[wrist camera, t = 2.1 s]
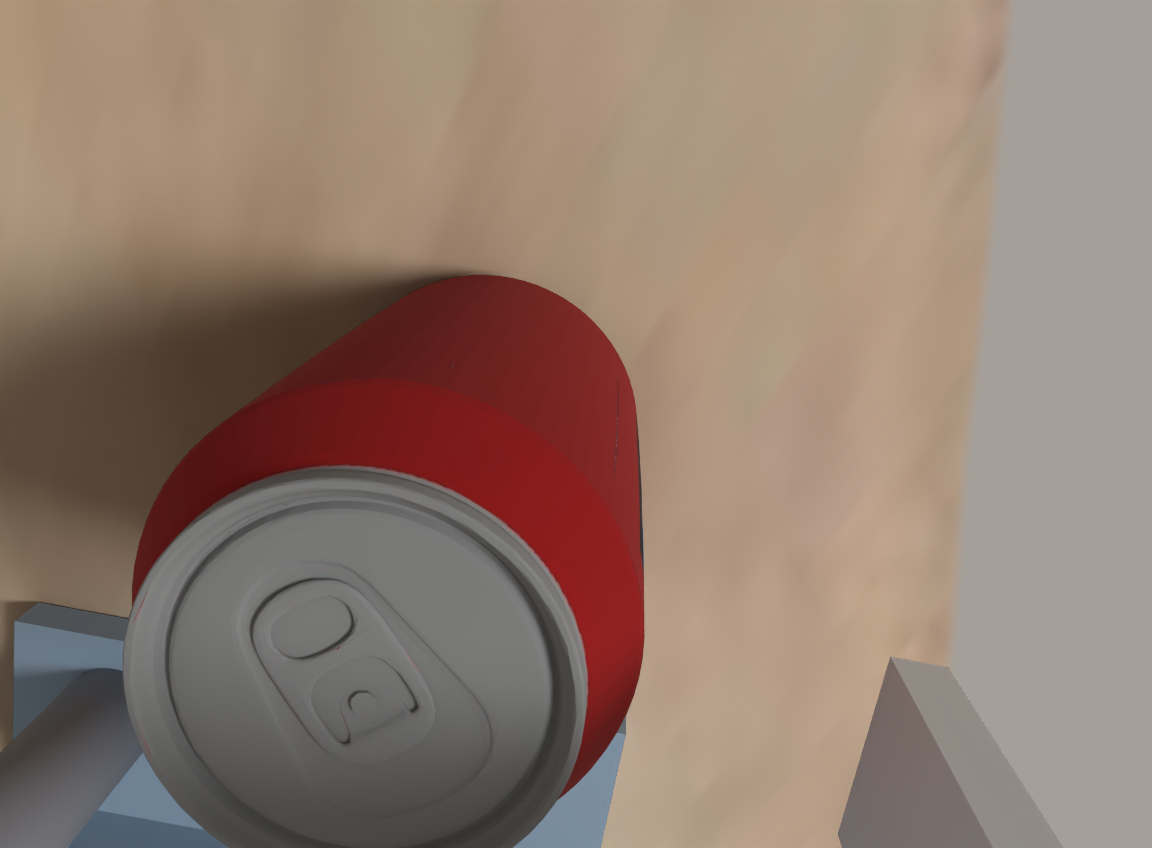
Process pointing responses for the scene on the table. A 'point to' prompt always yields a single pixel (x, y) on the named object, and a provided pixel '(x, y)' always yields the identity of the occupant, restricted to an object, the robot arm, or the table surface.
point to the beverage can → (399, 583)
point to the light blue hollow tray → (119, 767)
